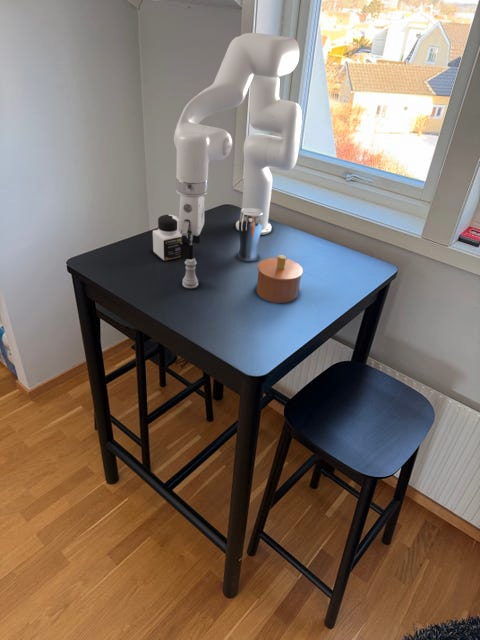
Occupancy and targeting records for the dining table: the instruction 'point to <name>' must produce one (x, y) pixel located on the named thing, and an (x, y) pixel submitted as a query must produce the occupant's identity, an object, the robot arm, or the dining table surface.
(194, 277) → the rook chess piece
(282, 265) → the pot lid
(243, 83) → the robot arm
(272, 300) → the pot
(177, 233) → the medicine bottle
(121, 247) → the dining table surface
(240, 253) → the metal shaker cup
